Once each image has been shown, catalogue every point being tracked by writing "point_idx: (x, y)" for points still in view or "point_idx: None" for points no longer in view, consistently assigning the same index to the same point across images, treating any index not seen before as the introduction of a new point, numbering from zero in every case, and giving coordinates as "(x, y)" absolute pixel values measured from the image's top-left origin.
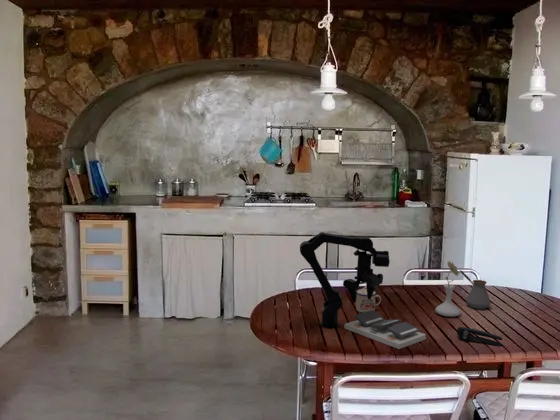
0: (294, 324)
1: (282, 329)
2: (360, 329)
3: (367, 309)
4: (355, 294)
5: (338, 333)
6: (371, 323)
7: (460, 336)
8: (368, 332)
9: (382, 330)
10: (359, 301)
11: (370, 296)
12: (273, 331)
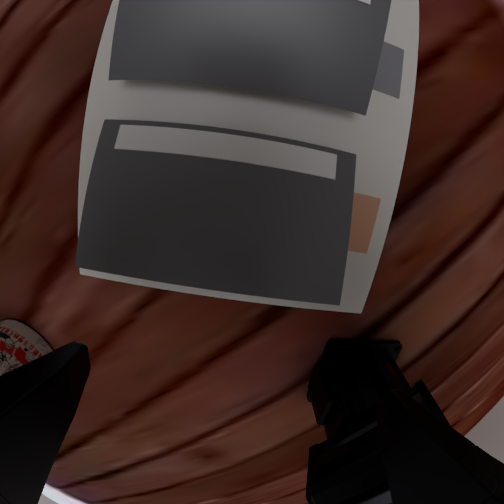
0: None
1: (460, 411)
2: (397, 171)
3: (31, 346)
4: (484, 464)
5: (435, 271)
6: (283, 139)
7: None
8: (410, 98)
9: None
10: None
11: (58, 371)
12: (478, 407)
